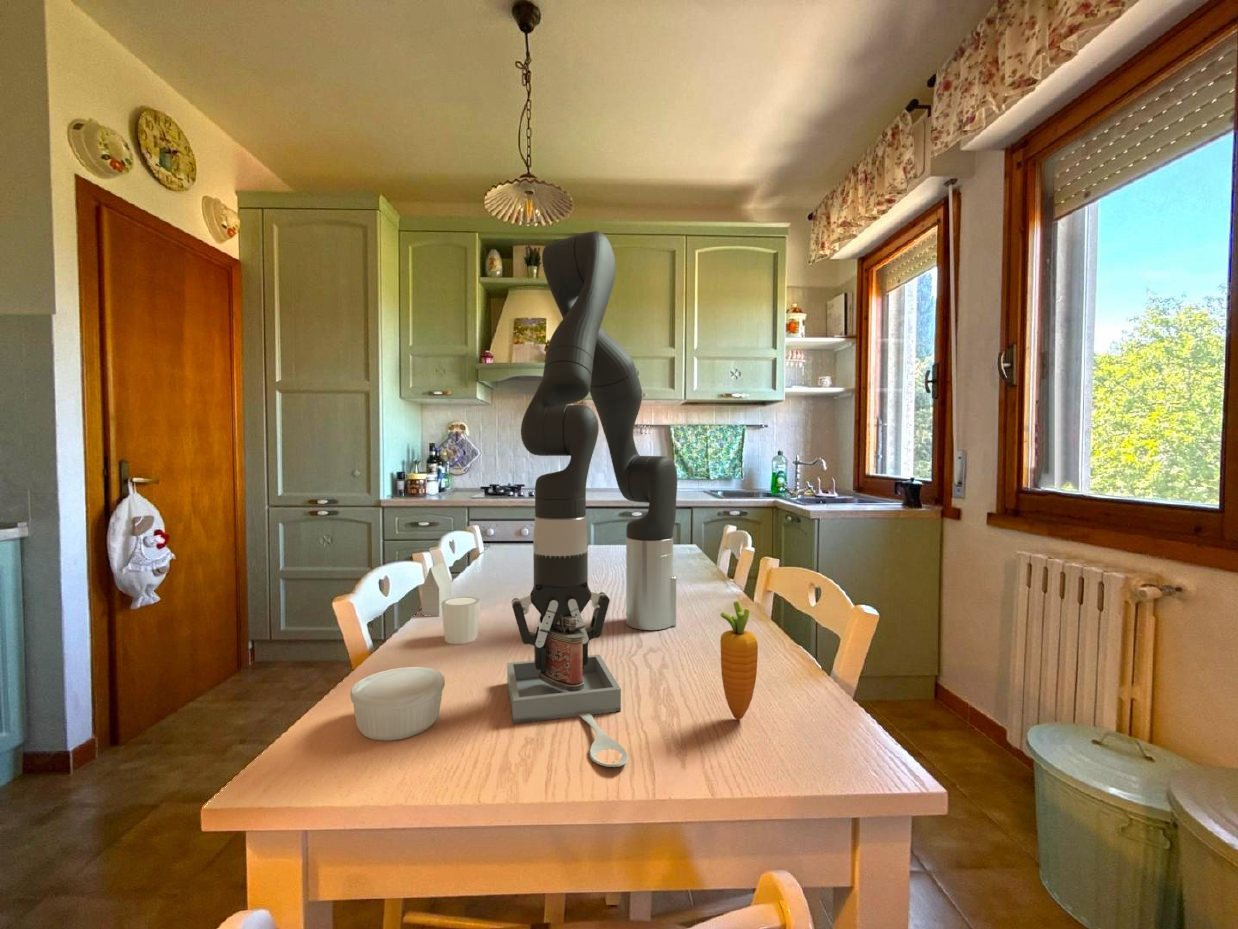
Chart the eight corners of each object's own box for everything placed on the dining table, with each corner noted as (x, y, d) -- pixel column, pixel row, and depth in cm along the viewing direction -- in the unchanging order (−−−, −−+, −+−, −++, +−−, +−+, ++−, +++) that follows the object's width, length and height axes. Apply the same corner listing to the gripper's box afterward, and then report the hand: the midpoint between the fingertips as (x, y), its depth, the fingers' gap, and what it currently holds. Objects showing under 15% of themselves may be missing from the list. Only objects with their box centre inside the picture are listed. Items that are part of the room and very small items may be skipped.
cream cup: (485, 633, 107) (485, 596, 107) (472, 646, 100) (472, 606, 100) (450, 632, 108) (450, 595, 108) (435, 644, 101) (434, 605, 101)
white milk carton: (451, 607, 125) (451, 562, 124) (439, 616, 118) (439, 568, 118) (435, 607, 125) (434, 561, 125) (422, 616, 118) (421, 568, 118)
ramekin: (376, 703, 78) (375, 665, 78) (456, 704, 78) (456, 666, 78) (332, 746, 67) (331, 701, 67) (426, 747, 66) (426, 703, 66)
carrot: (750, 733, 70) (751, 611, 69) (712, 723, 72) (713, 605, 72) (763, 717, 74) (764, 602, 73) (726, 708, 76) (727, 597, 76)
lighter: (589, 687, 78) (590, 615, 78) (571, 694, 76) (571, 620, 76) (551, 671, 84) (551, 603, 84) (533, 677, 81) (533, 608, 81)
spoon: (599, 782, 60) (599, 767, 60) (558, 700, 80) (558, 688, 80) (636, 775, 61) (636, 760, 61) (587, 696, 81) (587, 684, 81)
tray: (599, 673, 88) (599, 654, 88) (620, 711, 75) (620, 689, 75) (507, 683, 84) (507, 663, 84) (513, 724, 72) (513, 700, 72)
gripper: (604, 542, 85) (604, 655, 85) (506, 546, 81) (507, 664, 82) (617, 551, 78) (617, 675, 78) (510, 556, 74) (511, 686, 74)
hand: (561, 669), depth 80 cm, fingers closed on lighter, 4 cm apart
